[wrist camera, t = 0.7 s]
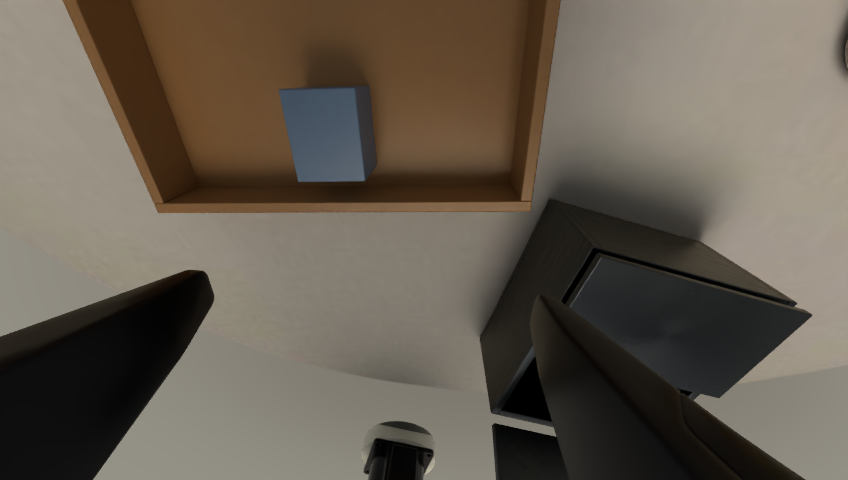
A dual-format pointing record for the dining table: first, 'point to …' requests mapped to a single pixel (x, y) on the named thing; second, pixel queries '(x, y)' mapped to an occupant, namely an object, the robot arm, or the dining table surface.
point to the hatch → (526, 455)
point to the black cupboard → (633, 307)
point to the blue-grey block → (330, 132)
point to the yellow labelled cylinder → (846, 53)
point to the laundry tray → (320, 67)
